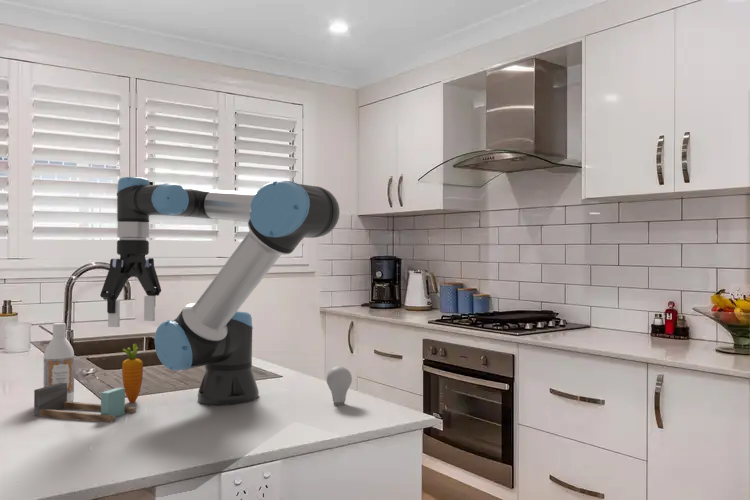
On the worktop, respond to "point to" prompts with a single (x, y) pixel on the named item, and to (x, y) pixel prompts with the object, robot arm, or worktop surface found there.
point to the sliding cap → (113, 402)
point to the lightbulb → (339, 384)
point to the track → (66, 405)
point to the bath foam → (59, 361)
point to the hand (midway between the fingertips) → (132, 323)
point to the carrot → (132, 374)
